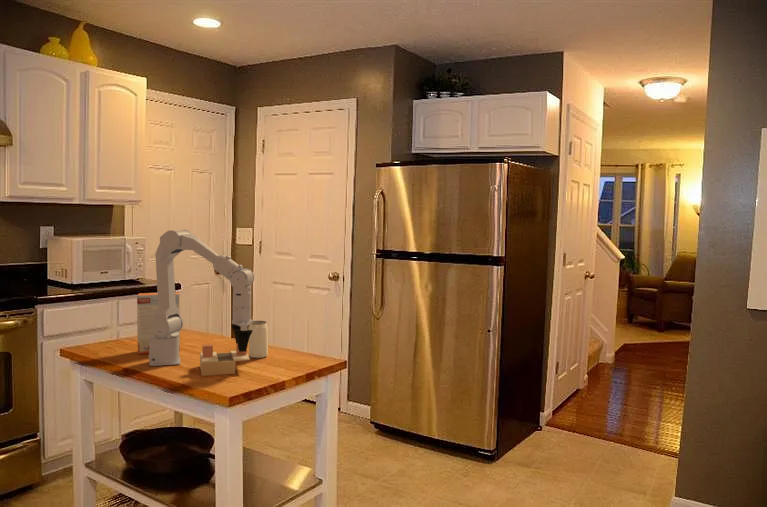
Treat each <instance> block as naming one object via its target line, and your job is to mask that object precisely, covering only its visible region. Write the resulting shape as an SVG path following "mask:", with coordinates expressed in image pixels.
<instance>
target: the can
mask: <svg viewBox="0 0 767 507" xmlns="http://www.w3.org/2000/svg"><path fill="white" fill-rule="evenodd" d="M248 330H252V334H251V335H250V338H249V341H248V356H249V358H251V359H263V358H266V357H267V356H268V355H269V337H268V336H269V329H268V325H267V321H265V320H255V322H254V323H251V324H249V327H248Z"/></svg>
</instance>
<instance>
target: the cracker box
mask: <svg viewBox="0 0 767 507" xmlns="http://www.w3.org/2000/svg"><path fill="white" fill-rule="evenodd" d="M136 296H137V299H136V307H137V308H136V312H137V317H136V319H137V320H136V321H137V323H136V324H137V329H136V330H137V332H136V333H137V336H136V337H137V355H144V354H145V355H146V354H148V355H149V340H150V337H155V334H154V333H153V332H152V323H153V320H154V313H155V312H156V310H157V309H158V293H157V292H144V293H143V292H140V293H138V294H137V295H136ZM175 301H176V307H177V308H178V309H179V310H180V292H178V291H177V292H176V291H175ZM180 331H181V330H180ZM180 331H179V353H180V350H181V345H180V344H181V340H180V336H181V334H180Z"/></svg>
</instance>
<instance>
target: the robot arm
mask: <svg viewBox="0 0 767 507" xmlns="http://www.w3.org/2000/svg"><path fill="white" fill-rule="evenodd" d="M184 251H192V252H194V253H196V254H198V255H199V256H200V257H202V258H204V259H205V260H207V261H208V262H209V263H211V264H212V267H213V270H215V271H216V272H218V273H219V274H220V275H222V276H223V277H224V278H225V279H227V280H228V281H229V283H230V286H231V287H232V320H231V323H232V324H230V325H231V328H232V330H233V333H234V339H235V344H236V343H238V348H239V352H246V350H248V347H249V338H250V335H251V334H252V330H249V325H250V324H251V323H254V322H255V321H256V320H255V319H252V284H253V283H254V281H255V274H254V272H253V271H252V270H251V269H250V268H248V267H245V268H244V267H243V265H242V264H238V263H237V262H236V261H234V260H233V259H232V256H230V255H226V254H220V255H219V254H218V253H217V252H216V251H215V250H213V248H211V247H210V246H209V245H207V244H206V243H205V242H204V241H202V239H200V238H199V237H198V236H197V235H196V234H194V233H192V232H191V231H189V230H188V229H182V230H181V229H179V230H167V231H165V232H164V233H163V234H162V235H160V237H159V244H158V246H157V249H156V251H155V254H154V256H155V271H156V272H155V273H156V274H155V275H156V290H157V292H156V293H158V309H157V310H156V312H155V313H154V320H153V323H152V332H153V333H154V334H155V337H150V340H149V354H148V355H147V356H148V361H149V363H148V364H149V366H150V367H159V366H172V365H173V366H175V365H176V366H177V365H181V357H180V352H179V331H181V330H182V328H183V327H184V320H183V318H182V316H181V310H180V308H179V309H178V308H177V307H176V301H175V292H176V285H175V284H176V282H175V269H174V268H175V264H174V259H175V258H176V257H177V256H178V255H179V254H180V253H182V252H184Z"/></svg>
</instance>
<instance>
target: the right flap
mask: <svg viewBox="0 0 767 507" xmlns="http://www.w3.org/2000/svg"><path fill="white" fill-rule="evenodd" d="M235 344H236V347H235V348H236V349H235V350H230V352H231V355H232V357H233V360H234V361H235V362H239V361H240V362H241V361H250V360H251V359H250V358H251V357H250V356H249V353H248V352H247V350H248V349H247V350H246V352H239V348H238V343H236V342H235Z"/></svg>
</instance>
